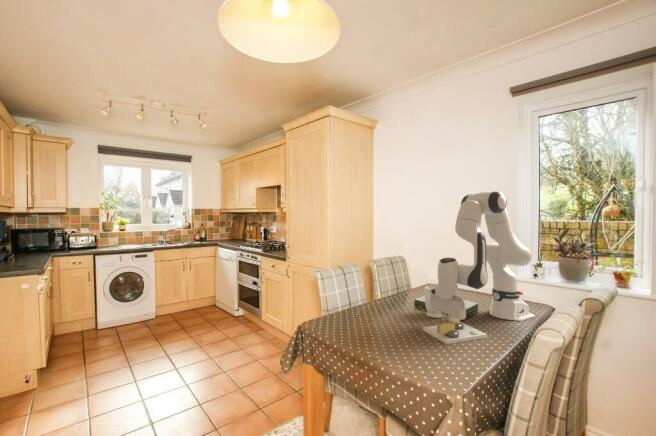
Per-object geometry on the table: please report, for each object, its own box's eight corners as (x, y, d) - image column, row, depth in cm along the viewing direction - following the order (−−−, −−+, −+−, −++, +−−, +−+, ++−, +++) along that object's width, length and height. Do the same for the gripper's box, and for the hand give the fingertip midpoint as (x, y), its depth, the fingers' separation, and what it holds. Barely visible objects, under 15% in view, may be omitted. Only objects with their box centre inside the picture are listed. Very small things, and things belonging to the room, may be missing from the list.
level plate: (460, 325, 150) (460, 320, 150) (487, 337, 135) (487, 332, 135) (423, 330, 143) (423, 325, 143) (446, 344, 128) (446, 339, 128)
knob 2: (452, 331, 138) (452, 319, 137) (462, 336, 132) (462, 324, 132) (433, 334, 134) (433, 321, 134) (443, 339, 129) (443, 326, 129)
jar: (446, 319, 158) (446, 290, 158) (425, 318, 160) (426, 289, 160) (443, 313, 169) (443, 286, 168) (423, 311, 171) (423, 285, 170)
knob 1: (457, 324, 147) (457, 312, 147) (466, 328, 141) (466, 316, 141) (440, 326, 144) (440, 314, 144) (448, 331, 138) (449, 319, 138)
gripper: (469, 298, 132) (469, 330, 133) (438, 287, 152) (438, 315, 152) (458, 299, 130) (457, 331, 131) (428, 288, 150) (427, 316, 150)
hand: (447, 322), depth 141 cm, fingers closed on knob 1, 2 cm apart
